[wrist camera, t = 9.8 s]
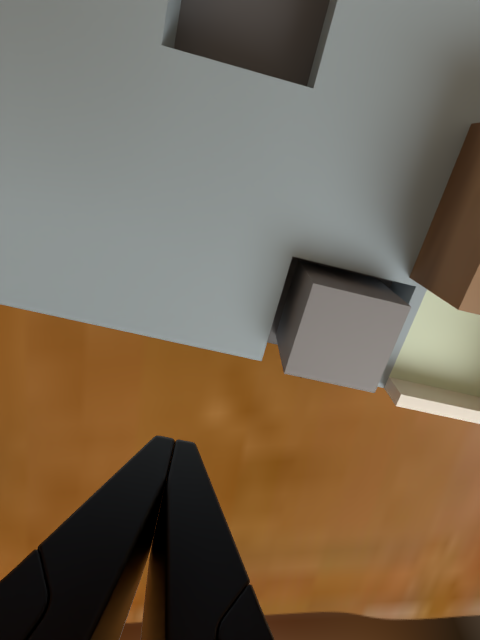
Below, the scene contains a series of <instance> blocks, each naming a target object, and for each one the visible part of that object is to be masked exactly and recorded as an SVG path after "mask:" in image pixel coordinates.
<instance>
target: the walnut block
mask: <svg viewBox="0 0 480 640" xmlns="http://www.w3.org/2000/svg"><path fill="white" fill-rule="evenodd" d="M409 278H411V279H412V280H414V281H415V282H417V283H418V284H420V285H421V286H423V287H424V288H426V289H427V290H429V291H430V292H432V293H433V294H435V295H436V296H438V297H439V298H441V299H442V300H444V301H445V302H447V303H449V304H450V305H452V306H453V307H455V308H456V309H458V310H461V311H465V312H469V313H474V314H478V315H480V122H479V123H473V124H471V126H470V128H469V131H468V133H467V136H466V138H465V141H464V143H463V146H462V148H461V150H460V153H459V155H458V158H457V160H456V163H455V165H454V168H453V170H452V173H451V175H450V178H449V180H448V183H447V185H446V188H445V190H444V193H443V195H442V198H441V200H440V203H439V205H438V208H437V210H436V212H435V215H434V217H433V220H432V222H431V225H430V227H429V230H428V232H427V235H426V237H425V240H424V242H423V245H422V247H421V250H420V252H419V255H418V257H417V260H416V262H415V265H414V267H413V270H412V272H411V274H410V277H409Z"/></svg>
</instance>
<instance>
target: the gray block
mask: <svg viewBox="0 0 480 640" xmlns="http://www.w3.org/2000/svg"><path fill="white" fill-rule="evenodd" d="M410 309H411V306H410V305H409V304H407V303H406V302H405V301H404V300H403V299H401V298H400V297H399V296H398V295H397V294H395V293H394V292H393V291H392V290H390V289H389V288H388V287H387V286H386V285H384V284H383V283H382V282H381V281H379V280H378V279H375V278H371V277H367V276H363V275H359V274H355V273H351V272H347V271H343V270H338V269H334V268H330V267H326V266H322V265H318V264H314V263H310V262H306V261H302V260H298V263H297V266H296V270H295V273H294V276H293V280H292V283H291V286H290V289H289V293H288V296H287V299H286V303H285V306H284V309H283V313H282V316H281V319H280V322H279V326H278V329H277V332H276V338H277V343H278V348H279V352H280V357H281V361H282V366H283V371H284V373H285V374H289V375H294V376H299V377H303V378H308V379H312V380H317V381H322V382H326V383H331V384H335V385H340V386H345V387H349V388H354V389H359V390H363V391H368V392H372V393H375V391H376V388H377V386H378V384H379V381H380V379H381V377H382V374H383V372H384V370H385V367H386V365H387V363H388V360H389V358H390V356H391V353H392V351H393V349H394V346H395V344H396V342H397V339H398V337H399V335H400V332H401V330H402V328H403V325H404V323H405V321H406V318H407V316H408V314H409V311H410Z"/></svg>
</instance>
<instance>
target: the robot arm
mask: <svg viewBox="0 0 480 640" xmlns="http://www.w3.org/2000/svg"><path fill="white" fill-rule="evenodd" d="M174 444H175V445H174ZM173 448H174V449H173ZM171 457H172V458H171ZM170 461H171V462H170ZM168 470H169V471H168ZM163 492H164V493H163ZM161 501H162V502H161ZM160 505H161V506H160ZM159 510H160V511H159ZM158 514H159V515H158ZM157 519H158V520H157ZM156 523H157V524H156ZM155 527H156V528H155ZM154 532H155V533H154ZM153 536H154V537H153ZM152 540H153V542H152ZM151 544H152V547H151ZM150 548H151V552H150ZM149 552H150V559H149V567H148V576H147V585H146V594H145V603H144V613H143V622H142V631H141V640H274V637H273V635H272V633H271V630H270V628H269V626H268V623H267V621H266V619H265V616H264V614H263V612H262V609H261V607H260V605H259V602H258V599H257V597H256V594H255V592H254V589H253V587H252V585H249V584H250V580H249V577H248V575H247V572H246V570H245V567H244V565H243V562H242V560H241V557H240V555H239V552H238V550H237V547H236V545H235V542H234V540H233V537H232V534H231V532H230V529H229V527H228V524H227V522H226V519H225V517H224V514H223V512H222V509H221V507H220V504H219V502H218V499H217V497H216V494H215V492H214V489H213V487H212V484H211V482H210V479H209V477H208V474H207V472H206V469H205V467H204V464H203V462H202V459H201V456H200V454H199V451H198V449H197V446H196V444H195V443H193V442H189V441H184V440H176V441H174V439H173V438H168V437H163V436H155V437H154V438H153V439H152V440H150V441H149V442H148V443H147V444H146V445H145V446H144V447H143V448H142V449H141V450H140V451H139V452H138V453H137V454H136V455H135V456H133V457H132V458H131V459H130V460H129V461H128V462H127V463H126V464H125V465H124V466H123V467H122V468H121V469H120V470H119V471H118V472H117V473H115V474H114V475H113V476H112V477H111V478H110V479H109V480H108V481H107V482H106V483H105V484H104V485H103V486H102V487H101V488H100V489H98V490H97V491H96V492H95V493H94V494H93V495H92V496H91V497H90V498H89V499H88V500H87V501H86V502H85V503H84V504H83V505H82V506H80V507H79V508H78V509H77V510H76V511H75V512H74V513H73V514H72V515H71V516H70V517H69V518H68V519H67V520H66V521H65V522H63V523H62V524H61V525H60V526H59V527H58V528H57V529H56V530H55V531H54V532H53V533H52V534H51V535H50V536H49V537H48V538H47V539H45V540H44V541H43V542H42V543H41V544H40V545H39V546H38V550H34V551H32V552H31V553H30V554H29V555H28V556H27V557H26V558H25V559H24V560H23V561H22V562H21V563H20V564H19V565H18V566H17V567H16V568H14V569H13V570H12V571H11V572H10V573H9V574H8V575H7V576H5V577H4V578H3V579H2V580H1V581H0V640H119V639H120V636H121V633H122V630H123V627H124V624H125V622H126V619H127V616H128V613H129V610H130V607H131V605H132V602H133V599H134V596H135V593H136V590H137V587H138V585H139V582H140V579H141V576H142V573H143V570H144V568H145V565H146V561H147V558H148V555H149Z"/></svg>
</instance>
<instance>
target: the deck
mask: <svg viewBox="0 0 480 640" xmlns="http://www.w3.org/2000/svg"><path fill="white" fill-rule="evenodd" d="M479 122H480V0H0V304H2V305H7V306H11V307H16V308H20V309H25V310H29V311H34V312H39V313H43V314H48V315H52V316H57V317H62V318H66V319H71V320H75V321H80V322H84V323H89V324H94V325H98V326H103V327H107V328H112V329H117V330H121V331H126V332H130V333H135V334H140V335H144V336H149V337H153V338H158V339H162V340H167V341H172V342H176V343H181V344H185V345H190V346H195V347H199V348H204V349H208V350H213V351H217V352H222V353H227V354H231V355H236V356H240V357H245V358H250V359H254V360H259V361H262V357H263V354H264V351H265V347H266V344H267V342H269V343H273V344H278V343H277V338H276V332H277V329H278V326H279V322H280V319H281V316H282V313H283V309H284V306H285V303H286V299H287V296H288V293H289V289H290V286H291V283H292V280H293V276H294V273H295V270H296V266H297V263H298V260H302V261H306V262H310V263H314V264H318V265H322V266H326V267H330V268H334V269H338V270H343V271H347V272H351V273H355V274H359V275H363V276H367V277H371V278H375V279H378V280H379V281H381V282H382V283H383V284H384V285H386V286H387V287H388V288H389V289H390V290H392V291H393V292H394V293H395V294H397V295H398V296H399V297H400V298H401V299H403V300H404V301H405V302H406V303H407V304H409V305H410V306H411V309H410V311H409V314H408V316H407V318H406V321H405V323H404V325H403V328H402V330H401V332H400V335H399V337H398V339H397V342H396V344H395V346H394V349H393V351H392V353H391V356H390V358H389V360H388V363H387V365H386V367H385V370H384V372H383V374H382V377H381V379H380V381H379V384H378V387H382V388H385V390H386V391H387V393H388V395H389V396H390V398H391V399H392V401H393V402H394V404H395V405H396V406H399V407H403V408H408V409H413V410H417V411H422V412H427V413H431V414H436V415H441V416H445V417H450V418H455V419H459V420H464V421H469V422H473V423H478V424H480V315H478V314H474V313H469V312H465V311H461V310H458V309H456V308H455V307H453V306H452V305H450V304H449V303H447V302H445V301H444V300H442V299H441V298H439V297H438V296H436V295H435V294H433V293H432V292H430V291H429V290H427V289H426V288H424V287H423V286H421V285H420V284H418V283H417V282H415V281H414V280H412V279H411V278H409V277H410V274H411V272H412V270H413V267H414V265H415V262H416V260H417V257H418V255H419V252H420V250H421V247H422V245H423V242H424V240H425V237H426V235H427V232H428V230H429V227H430V225H431V222H432V220H433V217H434V215H435V212H436V210H437V208H438V205H439V203H440V200H441V198H442V195H443V193H444V190H445V188H446V185H447V183H448V180H449V178H450V175H451V173H452V170H453V168H454V165H455V163H456V160H457V158H458V155H459V153H460V150H461V148H462V146H463V143H464V141H465V138H466V136H467V133H468V131H469V128H470V126H471V124H473V123H479Z"/></svg>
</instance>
